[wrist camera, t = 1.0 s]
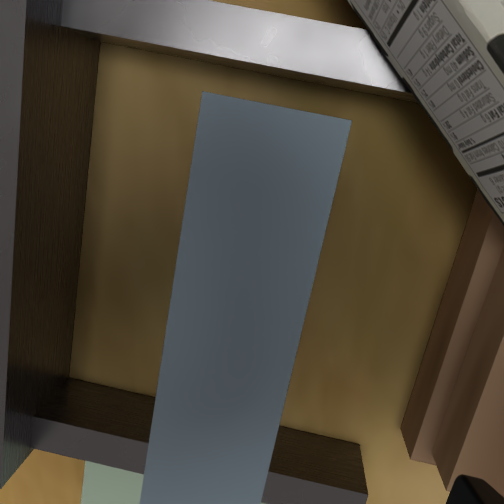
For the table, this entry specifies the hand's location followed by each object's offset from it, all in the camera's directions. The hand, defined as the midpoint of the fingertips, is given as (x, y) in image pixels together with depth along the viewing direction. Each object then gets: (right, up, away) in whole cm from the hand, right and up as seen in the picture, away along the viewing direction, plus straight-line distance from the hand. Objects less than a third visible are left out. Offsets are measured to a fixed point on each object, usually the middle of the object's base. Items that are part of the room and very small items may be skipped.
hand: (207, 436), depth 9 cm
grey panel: (+1, +3, +11) cm, 11 cm away
